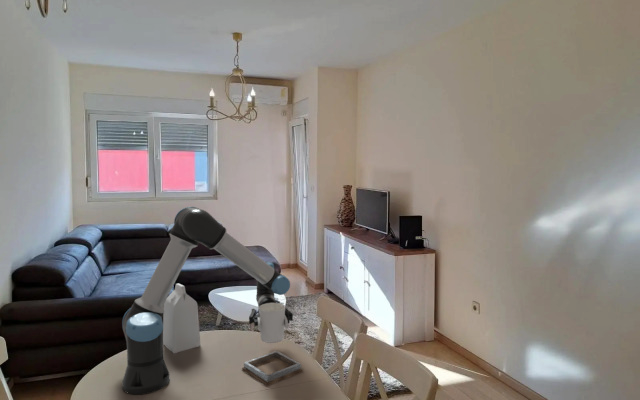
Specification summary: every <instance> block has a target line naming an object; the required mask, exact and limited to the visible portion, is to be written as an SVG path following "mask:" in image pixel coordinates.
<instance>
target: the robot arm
mask: <svg viewBox="0 0 640 400" xmlns="http://www.w3.org/2000/svg"><path fill="white" fill-rule="evenodd" d="M173 221H174V222H173V223H174V224H173V226H172V228H171V229H170V232H169V238H170V241H169V243H168V245H167V246H166V248H165V251H164V253H163V254H162V257H161V258H160V260H159V262H158V264H157V266H156V268H155V270H154V272H153V274H152V275H151V277H150V280H149V281H148V283H147V286H146V287H145V289H144V291H143V293H142V294H141V297H138V298H136V299H135V300H134V302H133V304H132V305H131V307H129V309H127V311H126V312H125V313H124V315H123V317H122V320H121V321H122V322H121V327H122V331H123V334H124V338H125V341H126V355H127V357H126V359H127V366H126V369H125V373H124V375H123V379H122V390H123V389H124V390H123V391H124V392H125V391H126V392H125V393H127V392H128V393H127V394H129V393H131V394H130V395H144V394H150V393H153V392H156V391H158V390H161V389H163V388H164V387H165V386H167V385H168V384H169V382H170V371H169V369H168V366H167V363H166V362H165V359H164V345H163V314H164V312H165V311H164V303H165V301H166V299H167V297H168V296H169V295H170V294H171V293H170V292H172V289H173V288H174V285H175V284H176V281H177V279H178V277H179V275H180V274H181V272H182V269H183V267H184V265H185V263H186V261H187V259H188V257H189V255H190V253H191V252H192V249H194V248H196V247H198V246H199V244H201V245H202V246H205V247H206V248H207V249H209V250H215V251H216V252H217V253H219V254H220V255H222V256H223V257H225V258H226V259H227V260H229V261H230V263H231V262H232V263H233V264H234V265H235V266H237V267H238V268H239V269H241V270H242V271H244V272H245V273H246V274H247V275H249V276H250V277H252V278H254V279H255V280H256V295H255V298H256V303H257V307H258V309H255V308H251V313H250V314H249V317H248V324H249V325H251V324H253V325H254V327H257V329H258V331H259V332H260V331H261V323H260V319H259V306H260V305H263V304H266V303H277V300H276V298H275V294H276V295H279V296H282V295H286V294H287V293H288V291H289V290H290V288H291V281H290V280H289V278H288V277H287V276H285V275H283V274H282V273H280V272H279V271H278V270H276V269H275V264H274V263H273V262H271V261H264V260H263V259H262V258H261V257H260V256H259V255H257V254H255V253H254V252H253V251H252V250H250V249H249V248H247V247H246V246H245V245H244V244H243V243H241V242H240V241H239V240H238V239H236V238H234V237H233V236H232V235H231V234H230V233H228V232H227V228H226V227H225V226H223V225H222V224H221V223H220V222H218V220H217V219H216V218H214V216H212V215H211V214H210V213H209V212H208V211H207V210H204V209H201V208H199V207H196V206H187V207H183V208H182V209H179V211H178V212H177V214H175V217H174V220H173ZM293 318H294V314H293V312H291V311H290V310H289V309H287V306H285V322H284V329H286V330H287V329H289V324H290V321H293V320H294V319H293Z"/></svg>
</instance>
